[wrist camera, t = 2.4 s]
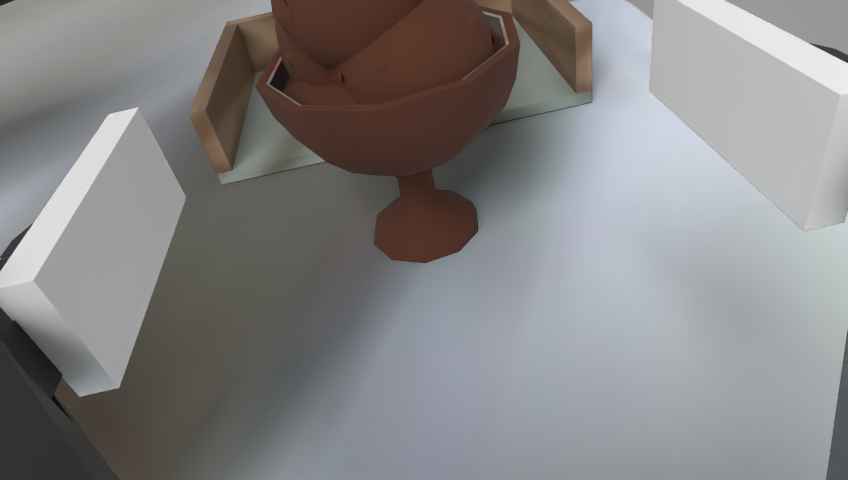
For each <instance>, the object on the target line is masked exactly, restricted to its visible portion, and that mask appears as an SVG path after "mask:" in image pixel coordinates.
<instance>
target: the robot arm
mask: <svg viewBox="0 0 848 480" xmlns="http://www.w3.org/2000/svg"><path fill="white" fill-rule="evenodd" d="M649 91H650V92H651V93H652V94H653V95H654V96H655V97H656V98H658V99H659V100H660V101H661V102H662V103H663V104H664V105H665V106H666V107H667V108H669V109H670V110H671V111H672V112H673V113H674V114H675V115H676V116H677V117H678V118H680V119H681V120H682V121H683V122H684V123H685V124H686V125H687V126H688V127H689V128H691V129H692V130H693V131H694V132H695V133H696V134H697V135H698V136H699V137H700V138H702V139H703V140H704V141H705V142H706V143H707V144H708V145H709V146H710V147H711V148H713V149H714V150H715V151H716V152H717V153H718V154H719V155H720V156H721V157H722V158H723V159H725V160H726V161H727V162H728V163H729V164H730V165H731V166H732V167H733V168H734V169H736V170H737V171H738V172H739V173H740V174H741V175H742V176H743V177H744V178H745V179H747V180H748V181H749V182H750V183H751V184H752V185H753V186H754V187H755V188H756V189H758V190H759V191H760V192H761V193H762V194H763V195H764V196H765V197H766V198H767V199H769V200H770V201H771V202H772V203H773V204H774V205H775V206H776V207H777V208H778V209H780V210H781V211H782V212H783V213H784V214H785V215H786V216H787V217H788V218H789V219H790V220H792V221H793V222H794V223H795V224H796V225H797V226H798V227H799V228H800V229H801V230H803V231H808V230H813V229H817V228H821V227H826V226H830V225H834V224H839V223H843V222H844V221H845V218H846V215H847V211H848V55H846V54H844V53H842V52H840V51H838V50H836V49H833V48H829V47H824V46H820V45H815V44H811V43H807V42H804V41H803V40H801V39H799V38H797V37H795V36H793V35H791V34H789V33H787V32H785V31H783V30H781V29H779V28H777V27H775V26H774V25H772V24H770V23H768V22H765V21H764V20H762V19H760V18H758V17H756V16H754V15H752V14H750V13H748V12H746V11H744V10H742V9H740V8H738V7H736V6H734V5H732V4H730V3H728V2H726V1H725V0H654V13H653V31H652V49H651V67H650V85H649ZM185 200H186V196H185V194H184V192H183V191H182V189H181V187H180V185H179V183H178V181H177V179H176V177H175V175H174V173H173V171H172V170H171V168H170V166H169V164H168V162H167V160H166V158H165V156H164V154H163V152H162V150H161V149H160V147H159V145H158V143H157V141H156V139H155V137H154V135H153V133H152V131H151V129H150V128H149V126H148V124H147V122H146V120H145V118H144V116H143V114H142V112H141V110H140V109H139V107H137V108H133V109H129V110H124V111H120V112H116V113H111V114H109V115H108V116H107V118H106V119H105V120H104V122H103V123H102V125H101V126H100V128H99V129H98V131H97V132H96V133H95V135H94V136H93V138H92V139H91V141H90V142H89V144H88V145H87V146H86V148H85V149H84V151H83V152H82V154H81V155H80V157H79V158H78V160H77V161H76V162H75V164H74V165H73V167H72V168H71V170H70V171H69V173H68V174H67V175H66V177H65V178H64V180H63V181H62V183H61V184H60V186H59V187H58V188H57V190H56V191H55V193H54V194H53V196H52V197H51V199H50V200H49V202H48V203H47V204H46V206H45V207H44V209H43V210H42V212H41V213H40V215H39V216H38V217H37V219H36V220H35V222H34V223H33V224H31V225H30V226H29V227H28V228H27V229H25V230H24V231H23V232H22V233H21V234H19V235H18V236H17V237H16V238H15V239H14V240H12V242H11V243H10V244H9V246H8V247H7V249H6V250H5V251H4V253H3V254H2V256H1V257H0V258H1V260H0V480H119V479H118V478H117V476H116V475H115V473H114V472H113V471H112V469H111V468H110V467H109V465H108V464H107V463H106V461H105V460H104V459H103V457H102V456H101V455H100V453H99V452H98V451H97V449H96V448H95V446H94V445H93V444H92V442H91V441H90V440H89V438H88V437H87V436H86V434H85V433H84V432H83V430H82V429H81V428H80V426H79V425H78V424H77V422H76V421H75V420H74V418H73V417H72V415H71V414H70V413H69V411H68V410H67V409H66V407H65V406H64V405H63V404H62V403H61V402H60V401H59V400H58V398H57V397H56V396H55V395H54V393H55V391H56V388H57V386H58V384H59V382H60V380H61V377H63V379H64V380H65V381H66V382H67V383H68V384H69V385H70V387H71V388H72V389H73V390H74V391H75V392H76V393H77V394H78V396H79V397H81V396H85V395H89V394H94V393H98V392H103V391H107V390H111V389H116V388H119V387H120V384H121V381H122V378H123V375H124V372H125V370H126V367H127V364H128V361H129V358H130V355H131V353H132V350H133V347H134V344H135V341H136V338H137V336H138V333H139V330H140V327H141V324H142V321H143V319H144V316H145V313H146V310H147V307H148V304H149V302H150V299H151V296H152V293H153V290H154V287H155V285H156V282H157V279H158V276H159V273H160V270H161V268H162V265H163V262H164V259H165V256H166V253H167V251H168V248H169V245H170V242H171V239H172V236H173V234H174V231H175V228H176V225H177V222H178V219H179V217H180V214H181V211H182V208H183V205H184V202H185ZM826 480H848V331H847V338H846V345H845V352H844V359H843V366H842V373H841V380H840V387H839V394H838V401H837V408H836V415H835V422H834V429H833V436H832V443H831V450H830V457H829V464H828V471H827V478H826Z"/></svg>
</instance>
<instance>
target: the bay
mask: <svg viewBox="0 0 848 480" xmlns="http://www.w3.org/2000/svg"><path fill="white" fill-rule="evenodd" d="M473 1H475V2H476V3H477V5H479V6H484V7H488V8H492V9H496V10H500V11H504V12H508V13H511V14H512V18H513V21H514V24H515V27H516V30H517V34H518V37H519V40H520V51H519V59H518V67H517V75H516V80H515V83H514V85H513V88H512V91H511V93H510V96H509V98H508V101H507V103H506V106H505V107H504V109H503V110H502V111H501V112H500V113H499V114H498V115H497V116H496V117H495V119H494V120H493V121H492V122H491V123H490V124H489V125H491V124H496V123H500V122H505V121H509V120H514V119H518V118H523V117H527V116H531V115H536V114H540V113H545V112H549V111H554V110H558V109H563V108H567V107H572V106H576V105H581V104H585V103H590V102H592V23H591V22H590V21H589V20H588V19H587V18H586V17H584V16H583V15H582V14H581V13H580V12H579V11H578V10H577V9H575V8H574V7H573V6H572V5H571V4H570V3H569V2H567V1H566V0H473ZM275 24H276V19H275V18H274V17H273V13H272V12H270V13H265V14H261V15H256V16H252V17H247V18H243V19H238V20H234V21H229V22H227V23H226V25H225V28H224V30H223V32H222V35H221V37H220V40H219V42H218V44H217V47H216V49H215V52H214V54H213V56H212V59H211V61H210V63H209V66H208V68H207V71H206V73H205V75H204V78H203V80H202V83H201V85H200V87H199V90H198V92H197V95H196V97H195V99H194V102H193V104H192V106H191V109H190V111H189V116H190V118H191V120H192V122H193V124H194V127H195V129H196V131H197V133H198V135H199V137H200V139H201V142H202V144H203V146H204V148H205V150H206V152H207V154H208V157H209V159H210V161H211V163H212V165H213V167H214V169H215V172H216V174H217V176H218V178H219V180H220V182H221V184H222V185H223V184H227V183H232V182H236V181H240V180H245V179H249V178H254V177H258V176H263V175H267V174H272V173H276V172H281V171H285V170H290V169H294V168H299V167H303V166H308V165H312V164H317V163H321V162H326V161H324V160H323V159H322V158H320V157H319V156H318V155H316V154H315V153H314V152H312V151H311V150H310V149H308V148H307V147H306V146H304V145H303V144H302V143H300V142H299V141H298V140H296V139H295V138H294V137H293V136H292V135H291V134H290V133H289V132H288V131H287V130H286V129H285V128H284V127H283V126H282V125H281V124H280V123H279V122H278V121H277V120H276V119H275V118H274V117H273V115H272V113H271V112H270V110H269V109H268V107H267V105H266V104H265V102H264V100H263V99H262V97H261V96H260V94H259V92H258V91H257V89H256V88H255V87H256V85H257V83H258V81H259V79H260V77H261V76H262V74H263V72H264V70H265V68H266V67H267V65H268V63H269V61H270V59H271V57H272V56H273V54H274V53H276V52H278V51H279V46H278V41H277V35H276V28H275Z"/></svg>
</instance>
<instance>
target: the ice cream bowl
mask: <svg viewBox="0 0 848 480" xmlns="http://www.w3.org/2000/svg"><path fill="white" fill-rule="evenodd" d="M271 5H272V13H273V17H274V18H275V19H276V24H275V28H276V35H277V41H278V46H279V51H278V52H276V53H274V54H273V56H272V57H271V59H270V61H269V63H268V65H267V67H266V68H265V70H264V72H263V74H262V76H261V77H260V79H259V81H258V83H257V85H256V87H255V88H256V89H257V91H258V92H259V94H260V96H261V97H262V99H263V100H264V102H265V104H266V105H267V107H268V109H269V110H270V112H271V113H272V115H273V117H274V118H275V119H276V120H277V121H278V122H279V123H280V124H281V125H282V126H283V127H284V128H285V129H286V130H287V131H288V132H289V133H290V134H291V135H292V136H293V137H294V138H295V139H296V140H298V141H299V142H300V143H302V144H303V145H304V146H306V147H307V148H308V149H310V150H311V151H312V152H314V153H315V154H316V155H318V156H319V157H320V158H322V159H323V160H324V161H326V162H327V163H330V164H332V165H335V166H337V167H339V168H342V169H344V170H347V171H349V172H352V173H359V174H368V175H385V176H395V177H396V178H397V179H398V184H399V189H400V194H401V197H399V198H396V199H395V200H394V201H393V202H392V203H391V204H390V205H388V206H387V207H386V208H385V209H384V210H383V211H382V212H380V213H379V214H378V215H377V221H376V229H375V239H374V244H375V245H376V246H377V247H378V248H379V249H380V250H381V251H383V252H384V253H385V254H386V255H387V256H388V257H390V258H391V259H392V260H401V261H411V262H422V263H426V262H429V261H432V260H435V259H438V258H441V257H444V256H447V255H450V254H453V253H456V252H458V251H460V250H461V249H462V248H463V247H464V245H465V244H466V243H467V242H468V241H469V240H470V239H471V238H472V237H473V236H474V235H475V234H476V233H477V232H478V222H477V212H476V209H475V207H474V205H473V204H472V202H470V201H469V200H467V199H465V198H464V197H462V196H461V195H459V194H457V193H456V192H454V191H447V190H436V189H435V185H434V180H433V176H432V172H431V171H432V168H434V167H437V166H440V165H442V164H444V163H446V162H447V161H449V160H451V159H453V158H454V157H455V156H456V155H457V154H458V153H460V152H461V151H462V150H463V149H464V148H465V147H466V146H467V145H468V144H470V143H471V142H472V141H473V140H474V139H475V138H476V137H477V136H478V135H480V134H481V133H482V132H483V131H484V130H485V129H486V127H487V126H488V125H489V124H490V123H491V122H492V121H493V120H494V119H495V117H496V116H497V115H498V114H499V113H500V112H501V111H502V110H503V109H504V107H505V106H506V103H507V101H508V98H509V96H510V93H511V91H512V88H513V85H514V83H515V80H516V75H517V67H518V59H519V51H520V40H519V37H518V34H517V30H516V27H515V24H514V21H513V18H512V14H511V13H508V12H504V11H500V10H496V9H492V8H488V7H484V6H479V5H477V3H476V2H475V1H473V0H271Z"/></svg>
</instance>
